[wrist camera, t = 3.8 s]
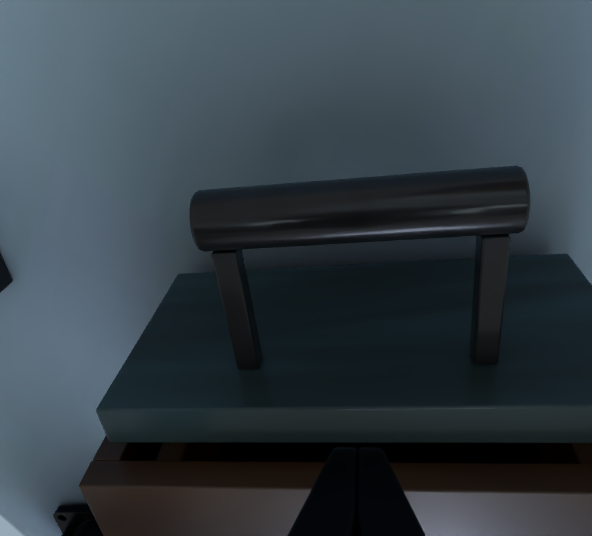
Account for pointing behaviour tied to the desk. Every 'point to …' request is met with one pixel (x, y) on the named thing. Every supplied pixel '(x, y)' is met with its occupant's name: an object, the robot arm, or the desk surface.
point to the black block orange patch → (4, 275)
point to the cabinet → (300, 480)
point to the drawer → (365, 333)
